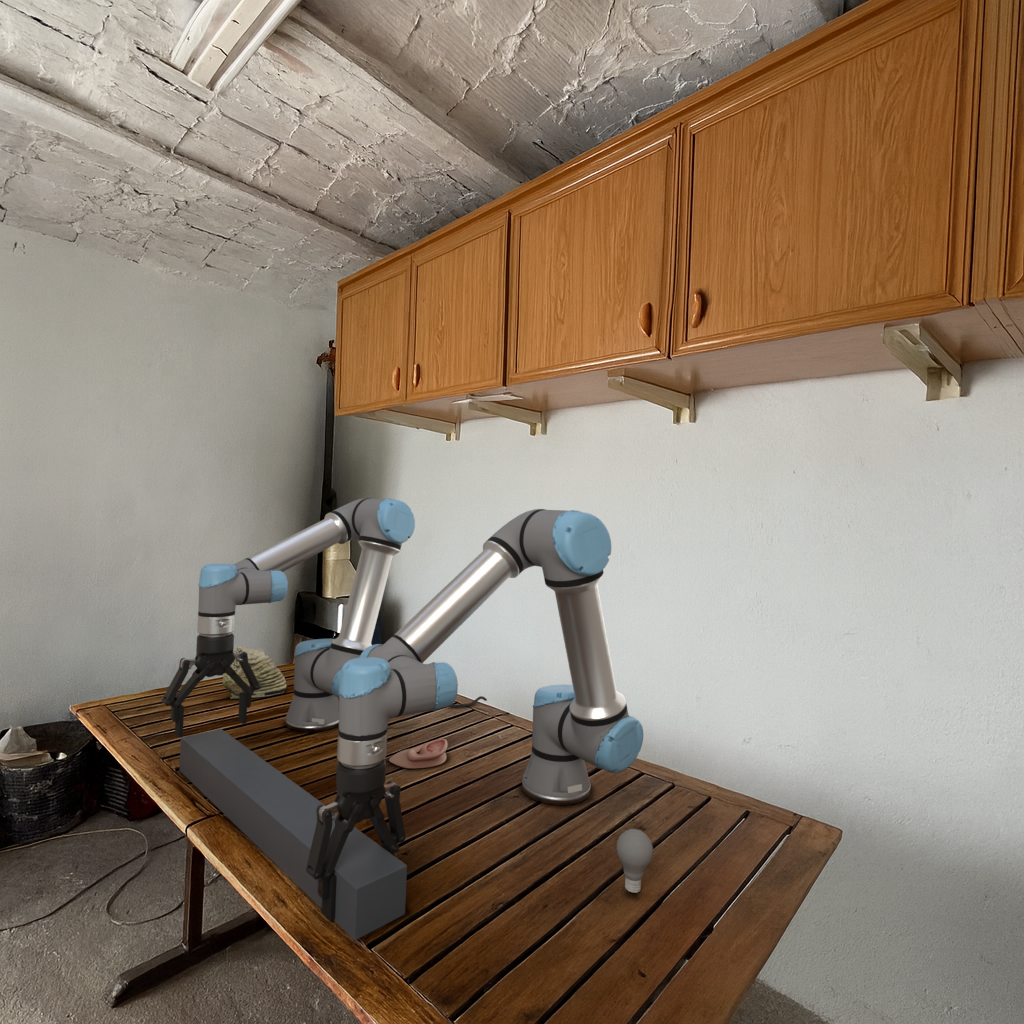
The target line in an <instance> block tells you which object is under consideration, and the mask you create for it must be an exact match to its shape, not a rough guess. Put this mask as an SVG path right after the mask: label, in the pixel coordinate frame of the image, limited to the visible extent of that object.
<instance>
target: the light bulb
mask: <svg viewBox="0 0 1024 1024" xmlns="http://www.w3.org/2000/svg"><path fill="white" fill-rule="evenodd" d="M615 849H616V854H617V857H618V859H619V861H620V863H621V865H622V867H623V873H624V874H623V875H624V876H625V878H624V888H625V890H627V891H628V892H630V893H634V894H635V893H639V892H640V891H641V889H642V887H641V886H642V879H643V877H644V875H645V871H646V868H647V867H648V866H649V864H650V863H651V861H652V859H653V855H654V847H653V843H652V841H651V838H649V836H648V835H647V834H646V833H645V832H643V831H642V830H641V829H636V828H629V829H627V830H625V831H623V832H622V833H621V834H620V835H619V837H618V839H617V841H616V847H615Z"/></svg>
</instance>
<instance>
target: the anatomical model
mask: <svg viewBox="0 0 1024 1024" xmlns="http://www.w3.org/2000/svg"><path fill="white" fill-rule="evenodd" d="M448 745H449V744H448V741H447V739H445V738H438V739H435V740H431V741H428V742H425V743H423V744H420V745H417V746H414V747H412V748H407V749H403V750H400V751H399V752H397V753H395V754H393V755H392V756H390V757H389V759H388V761H389V762H390V763H391V764H394V765H395V766H398V767H401V768H403V769H424V768H425V769H426V768H432V767H437V766H439V765H442V764H444V763H445V762H446V760H447V753H446V751H447V750H448Z"/></svg>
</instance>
